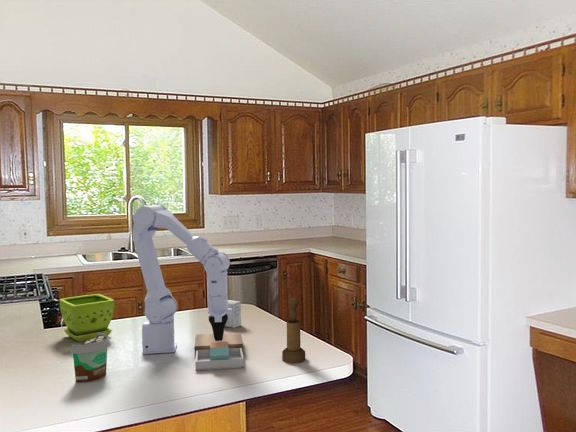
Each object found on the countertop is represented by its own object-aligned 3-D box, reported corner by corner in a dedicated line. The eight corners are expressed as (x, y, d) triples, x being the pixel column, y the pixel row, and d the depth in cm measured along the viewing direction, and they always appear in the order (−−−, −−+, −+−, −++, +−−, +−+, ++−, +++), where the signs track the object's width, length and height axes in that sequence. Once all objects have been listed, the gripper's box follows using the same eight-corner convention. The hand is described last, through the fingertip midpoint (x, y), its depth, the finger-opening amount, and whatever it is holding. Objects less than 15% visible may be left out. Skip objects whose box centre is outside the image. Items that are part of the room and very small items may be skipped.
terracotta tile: (210, 360, 145) (210, 353, 144) (210, 349, 150) (210, 342, 149) (228, 359, 146) (228, 352, 145) (227, 348, 150) (227, 341, 149)
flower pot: (73, 345, 163) (72, 305, 163) (59, 336, 174) (57, 298, 173) (116, 336, 173) (115, 298, 172) (100, 328, 183) (99, 292, 182)
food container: (94, 386, 130) (93, 346, 129) (72, 384, 131) (70, 345, 130) (119, 369, 142) (118, 333, 141) (99, 367, 143) (98, 331, 142)
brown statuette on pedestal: (288, 364, 144) (288, 300, 143) (278, 358, 149) (277, 296, 148) (309, 360, 147) (308, 297, 146) (298, 354, 152) (297, 293, 151)
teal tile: (210, 356, 144) (210, 364, 143) (210, 347, 141) (210, 356, 139) (228, 355, 145) (228, 363, 143) (228, 346, 142) (228, 355, 140)
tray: (195, 370, 140) (195, 361, 140) (196, 358, 149) (196, 350, 149) (243, 367, 142) (243, 358, 142) (241, 356, 151) (241, 347, 151)
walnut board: (194, 358, 150) (194, 346, 150) (195, 345, 162) (195, 334, 162) (243, 355, 152) (243, 343, 152) (241, 343, 164) (240, 332, 164)
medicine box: (241, 325, 185) (241, 301, 184) (233, 328, 181) (233, 303, 181) (224, 322, 189) (223, 299, 189) (216, 325, 185) (215, 301, 185)
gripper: (232, 299, 146) (233, 346, 147) (230, 289, 160) (231, 332, 161) (206, 300, 145) (207, 348, 146) (207, 290, 159) (208, 333, 160)
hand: (218, 340), depth 153 cm, fingers closed
